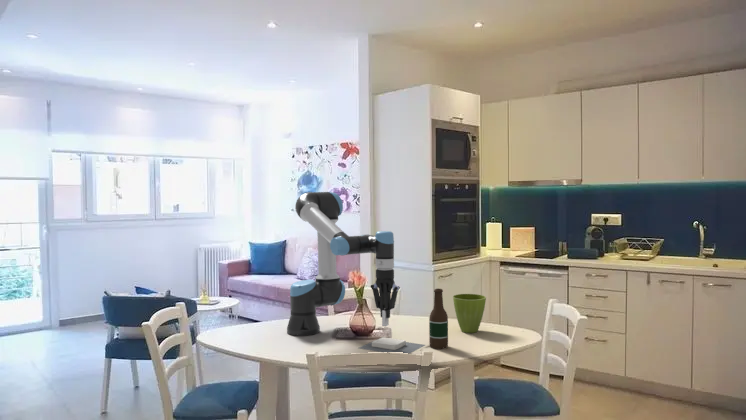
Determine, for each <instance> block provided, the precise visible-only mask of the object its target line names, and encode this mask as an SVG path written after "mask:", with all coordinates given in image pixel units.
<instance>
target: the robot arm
mask: <svg viewBox="0 0 746 420" xmlns="http://www.w3.org/2000/svg"><path fill="white" fill-rule="evenodd" d="M294 209H295V211H296V214H297V216H298V217H299V218H300V219H301V220H302V221H303V222H307V223H308V224H310V225H311V226H312V227H313V228H314V230H316V231H317V232H316V233H317V234H316V235H317V260H318V262H317V263H318V265H317V267H318V269H317V270H318V271H317V272H318V274H317V275H316V276H315V280H313V279H304V280H298V281H295V282H293V283H292V284H291V285H290V289H289V290H290V291H289V299H290V300H289V301H290V302H289V303H290V305H289V306H290V307H289V308H290V316H289V321H288V322H287V326H286V327H287V328H286V333H287V334H288V335H290V336H299V337H300V336H301V337H302V336H313V335H316V334H319V333H320V332H321V326H320V324H319V320H318V317H317V313H316V311H317V309H316V308H320V307H328V306H331V307H332V306H335V305H339V304H341V303H342V301H344V298H345V296H346V286H345V283H344V281H343V280H341V277H340V275H339V274H338V273H337V256H349V255H359V254H375V268H376V269H375V278H376V280H375V283H372V284H371V285H370V288H371V290H372V293H373V298H374V303H375V307H376V309H379V311H380V318H381V325H382V327H387V326H389V323H390V321H389V319H390V318H391V310H393V309H395V307H396V302H397V298H398V297H397V296H398V292H399V290H400V288H401V287H400V285H399V286H398V285H396V284H395V281H394V278H395V270H394V268H395V257H394V255H395V253H394V252H395V240H394V239H395V238H394V233H393V232H392V231H391V230H390V231H388V230H381V231H376V232H375V235H374V234H361V235H352V236H351V235H348V234H347V233H346V232H345V231H343V230H342V229H341V228H340V227H339V226H338V225H337V224H336V223H337V222H338V221H339V217H340V216H341V215H342V212H343V211H344V205H343V200H342V198H341V196H340V195H339V194H338V193H336V192H333V191H332V192H331V191H320V192H319V191H309V192H305V193H302V194H301V195H299V196H298V198H297V199H296V202H295V208H294Z"/></svg>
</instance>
